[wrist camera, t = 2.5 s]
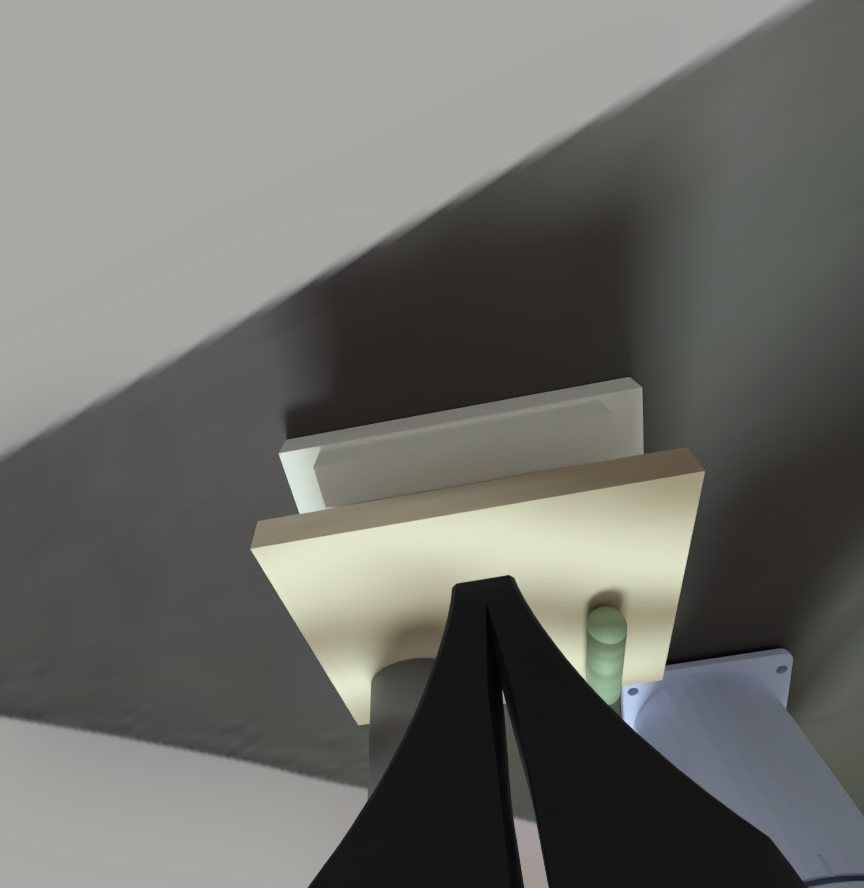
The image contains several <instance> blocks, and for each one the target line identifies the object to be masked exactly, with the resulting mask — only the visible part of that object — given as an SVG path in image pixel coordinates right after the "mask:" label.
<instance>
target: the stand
mask: <svg viewBox="0 0 864 888" xmlns="http://www.w3.org/2000/svg"><path fill="white" fill-rule="evenodd" d="M641 454H644V450H643V400H642V387H641V386H640V385H639V384H638V383H636V382H635V381H634V380H633V379H632V378H630V377H626V378H620V379H615V380H609V381H604V382H599V383H593V384H588V385H582V386H577V387H571V388H566V389H560V390H555V391H549V392H544V393H539V394H533V395H528V396H522V397H517V398H511V399H506V400H500V401H495V402H490V403H484V404H479V405H473V406H468V407H462V408H457V409H451V410H446V411H440V412H435V413H430V414H424V415H419V416H413V417H408V418H402V419H397V420H391V421H386V422H380V423H375V424H370V425H364V426H359V427H353V428H348V429H342V430H337V431H331V432H326V433H320V434H315V435H310V436H304V437H299V438H293V439H288V440H286V441H285V443H284V445H283V447H282V449H281V450H280V452H279V456H280V459H281V461H282V464H283V467H284V470H285V473H286V476H287V479H288V482H289V484H290V487H291V490H292V493H293V496H294V499H295V502H296V505H297V507H298V510H299V513H300V514H303V513H308V512H314V511H320V510H326V509H331V508H337V507H343V506H349V505H354V504H360V503H366V502H371V501H377V500H383V499H389V498H394V497H400V496H406V495H412V494H417V493H423V492H429V491H435V490H440V489H446V488H452V487H458V486H463V485H469V484H475V483H480V482H486V481H492V480H498V479H503V478H509V477H515V476H521V475H526V474H532V473H538V472H544V471H549V470H555V469H561V468H567V467H572V466H578V465H584V464H589V463H595V462H601V461H607V460H612V459H618V458H624V457H630V456H635V455H641Z"/></svg>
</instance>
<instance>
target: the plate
mask: <svg viewBox="0 0 864 888" xmlns="http://www.w3.org/2000/svg"><path fill="white" fill-rule="evenodd" d="M704 474H705V470H704V469H703V467H702V466H701V465H700V463H699V462H698V460H697V459H696V458H695V456H694V455H693V453H692V452H691V451H690V449H689V448H688V446H687V447H681V448H676V449H670V450H664V451H658V452H653V453H647V454H641V455H635V456H630V457H624V458H618V459H612V460H607V461H601V462H595V463H589V464H584V465H578V466H572V467H567V468H561V469H555V470H549V471H544V472H538V473H532V474H526V475H521V476H515V477H509V478H503V479H498V480H492V481H486V482H480V483H475V484H469V485H463V486H458V487H452V488H446V489H440V490H435V491H429V492H423V493H417V494H412V495H406V496H400V497H394V498H389V499H383V500H377V501H371V502H366V503H360V504H354V505H349V506H343V507H337V508H331V509H326V510H320V511H314V512H308V513H303V514H297V515H291V516H285V517H280V518H274V519H268V520H262V521H258V522H257V526H256V530H255V533H254V537H253V541H252V545H251V548H250V549H251V551H252V552H253V554H254V556H255V557H256V559H257V560H258V562H259V564H260V565H261V567H262V569H263V570H264V572H265V574H266V575H267V577H268V578H269V580H270V582H271V583H272V585H273V587H274V588H275V590H276V592H277V593H278V595H279V596H280V598H281V600H282V601H283V603H284V605H285V606H286V608H287V609H288V611H289V613H290V614H291V616H292V618H293V619H294V621H295V623H296V624H297V626H298V627H299V629H300V631H301V632H302V634H303V636H304V637H305V639H306V641H307V642H308V644H309V645H310V647H311V649H312V650H313V652H314V654H315V655H316V657H317V658H318V660H319V662H320V663H321V665H322V667H323V668H324V670H325V672H326V673H327V675H328V676H329V678H330V680H331V681H332V683H333V685H334V686H335V688H336V690H337V691H338V693H339V694H340V696H341V698H342V699H343V701H344V703H345V704H346V706H347V707H348V709H349V711H350V712H351V714H352V716H353V717H354V719H355V721H356V722H357V724H358V725H363V724H370V732H369V768H368V799H369V798H370V796H371V795H372V793H373V791H374V790H375V788H376V787H377V785H378V783H379V781H380V780H381V778H382V776H383V774H384V773H385V771H386V769H387V767H388V765H389V764H390V762H391V760H392V758H393V756H394V754H395V752H396V750H397V748H398V747H399V745H400V743H401V741H402V739H403V737H404V735H405V733H406V731H407V728H408V726H409V724H410V722H411V720H412V718H413V716H414V713H415V711H416V709H417V707H418V704H419V702H420V699H421V697H422V695H423V692H424V689H425V687H426V684H427V681H428V679H429V676H430V673H431V671H432V668H433V665H434V662H435V659H436V656H437V653H438V650H439V646H440V643H441V640H442V636H443V633H444V629H445V625H446V621H447V617H448V612H449V607H450V601H451V593H452V588H453V586H454V585H455V584H457V583H463V582H469V581H475V580H481V579H487V578H493V577H499V576H505V575H510V576H512V577H513V578H515V580H516V583H517V585H518V587H519V589H520V591H521V593H522V595H523V597H524V599H525V600H526V602H527V604H528V605H529V607H530V609H531V610H532V612H533V613H534V615H535V616H536V618H537V619H538V621H539V622H540V624H541V625H542V627H543V628H544V629H545V631H546V632H547V633H548V635H549V636H550V637H551V639H552V640H553V642H554V643H555V644H556V646H557V647H558V648H559V649H560V651H561V652H562V653H563V655H564V656H565V657H566V658H567V660H568V661H569V662H570V663H571V664H572V665H573V667H574V668H575V669H576V670H577V671H578V673H579V674H580V675H581V676H582V677H583V678H584V679H585V681H586V682H587V683H588V684H589V685H590V686H591V687H592V688H593V689H594V691H595V692H596V693H597V694H598V695H599V696H600V697H601V698H602V699H603V700H604V701H605V702H606V703H607V704H608V705H610V704H613V703H614V702H616V701H617V700H618V698H619V696H620V693H621V686H626V685H633V684H640V683H647V682H653V681H660V680H662V679H663V674H664V669H665V664H666V659H667V655H668V650H669V645H670V640H671V635H672V630H673V625H674V620H675V616H676V611H677V606H678V601H679V596H680V591H681V586H682V581H683V577H684V572H685V567H686V562H687V557H688V552H689V547H690V542H691V537H692V533H693V528H694V523H695V518H696V513H697V508H698V503H699V498H700V494H701V489H702V484H703V479H704ZM502 691H503V690H502ZM505 703H506V702H505V698H504V694H503V704H505Z"/></svg>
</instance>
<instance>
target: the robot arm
mask: <svg viewBox="0 0 864 888" xmlns="http://www.w3.org/2000/svg"><path fill="white" fill-rule="evenodd" d="M792 664H793V657H792V655H791V654H790V653H789V652H788V651H787V650H786V649H773V650H766V651H759V652H753V653H746V654H739V655H733V656H726V657H719V658H713V659H706V660H699V661H693V662H686V663H679V664H673V665H666V666H665V669H664V674H663V679H662V680H660V681H653V682H647V683H640V684H633V685H626V686H621V693H620V694H621V713H622V718H621V717H620V716H619V715H618V714H617V713H616V712H615V711H614V710H613V709H612V708H611V707H610V706H609V705H608V704H607V703H606V702H605V701H604V700H603V699H602V698H601V697H600V696H599V695H598V694H597V693H596V692H595V691H594V689H593V688H592V687H591V686H590V685H589V684H588V683H587V682H586V681H585V679H584V678H583V677H582V676H581V675H580V674H579V673H578V671H577V670H576V669H575V668H574V667H573V665H572V664H571V663H570V662H569V661H568V660H567V658H566V657H565V656H564V655H563V653H562V652H561V651H560V649H559V648H558V647H557V646H556V644H555V643H554V642H553V640H552V639H551V637H550V636H549V635H548V633H547V632H546V631H545V629H544V628H543V627H542V625H541V624H540V622H539V621H538V619H537V618H536V616H535V615H534V613H533V612H532V610H531V609H530V607H529V605H528V604H527V602H526V600H525V599H524V597H523V595H522V593H521V591H520V589H519V587H518V585H517V583H516V580H515V578H513V577H512V576H510V575H505V576H499V577H493V578H487V579H481V580H475V581H469V582H463V583H457V584H455V585H454V586H453V588H452V593H451V601H450V607H449V612H448V617H447V621H446V625H445V629H444V633H443V636H442V640H441V643H440V646H439V650H438V653H437V656H436V659H435V662H434V665H433V668H432V671H431V673H430V676H429V679H428V681H427V684H426V687H425V689H424V692H423V695H422V697H421V699H420V702H419V704H418V707H417V709H416V711H415V713H414V716H413V718H412V720H411V722H410V724H409V726H408V728H407V731H406V733H405V735H404V737H403V739H402V741H401V743H400V745H399V747H398V748H397V750H396V752H395V754H394V756H393V758H392V760H391V762H390V764H389V765H388V767H387V769H386V771H385V773H384V774H383V776H382V778H381V780H380V781H379V783H378V785H377V787H376V788H375V790H374V791H373V793H372V795H371V796H370V798H369V799H368V801H367V803H366V804H365V806H364V808H363V809H362V811H361V812H360V814H359V815H358V817H357V818H356V820H355V822H354V823H353V825H352V826H351V828H350V829H349V831H348V832H347V834H346V835H345V837H344V838H343V840H342V841H341V843H340V844H339V846H338V847H337V849H336V850H335V851H334V853H333V854H332V855H331V857H330V858H329V859H328V861H327V862H326V863H325V865H324V866H323V867H322V869H321V870H320V872H319V873H318V874H317V876H316V877H315V879H314V880H313V881H312V883H311V884H310V885H309V887H308V888H524V884H523V877H522V871H521V865H520V858H519V852H518V846H517V839H516V833H515V827H514V820H513V812H512V803H511V794H510V781H509V768H508V755H507V742H506V729H505V716H504V704H503V694H504V698H505V702H506V705H507V709H508V713H509V717H510V720H511V724H512V728H513V732H514V735H515V739H516V743H517V746H518V750H519V754H520V758H521V761H522V765H523V769H524V773H525V776H526V780H527V784H528V787H529V791H530V795H531V800H532V804H533V808H534V813H535V817H536V823H537V828H538V833H539V839H540V844H541V849H542V854H543V859H544V865H545V871H546V876H547V881H548V886H549V888H864V816H863V815H862V813H861V812H860V811H859V809H858V808H857V806H856V805H855V804H854V802H853V801H852V799H851V798H850V797H849V795H848V794H847V793H846V791H845V790H844V788H843V787H842V786H841V784H840V783H839V781H838V780H837V779H836V777H835V776H834V775H833V773H832V772H831V770H830V769H829V768H828V766H827V765H826V764H825V762H824V761H823V759H822V758H821V757H820V755H819V754H818V752H817V751H816V750H815V748H814V747H813V746H812V744H811V743H810V741H809V740H808V739H807V737H806V736H805V734H804V733H803V732H802V730H801V729H800V728H799V726H798V725H797V723H796V722H795V721H794V719H793V718H792V716H791V715H790V714H789V712H788V711H787V710H786V707H787V700H788V693H789V686H790V679H791V671H792ZM502 690H503V691H502Z"/></svg>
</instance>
